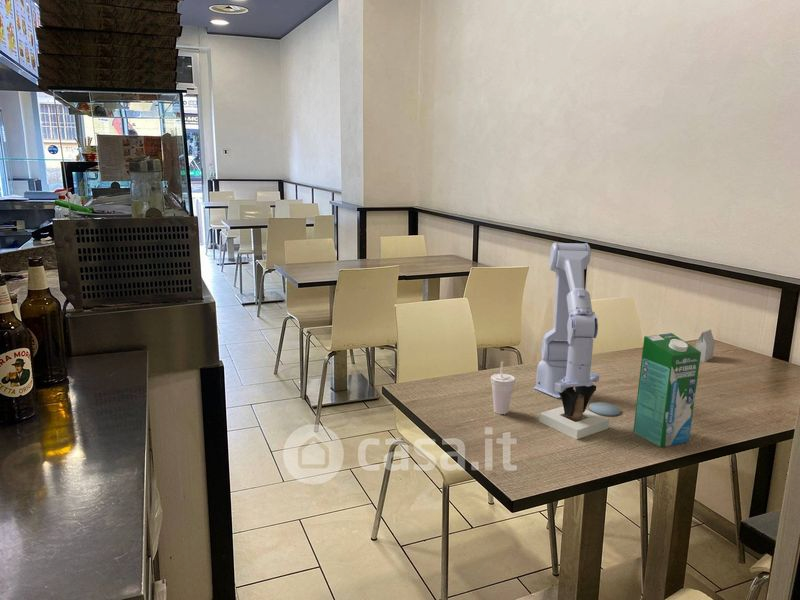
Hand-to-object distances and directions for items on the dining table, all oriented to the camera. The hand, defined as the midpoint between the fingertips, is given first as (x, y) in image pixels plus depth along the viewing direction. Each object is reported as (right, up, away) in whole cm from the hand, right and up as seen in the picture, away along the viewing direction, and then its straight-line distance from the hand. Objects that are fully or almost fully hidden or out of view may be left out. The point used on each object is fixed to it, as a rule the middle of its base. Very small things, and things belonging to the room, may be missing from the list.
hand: (574, 413), depth 152 cm
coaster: (+11, -1, +11) cm, 15 cm away
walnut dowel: (0, -3, +1) cm, 3 cm away
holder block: (0, -3, +1) cm, 3 cm away
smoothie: (-17, -1, +8) cm, 19 cm away
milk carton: (+20, -5, -5) cm, 21 cm away
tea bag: (+61, +8, +57) cm, 84 cm away
